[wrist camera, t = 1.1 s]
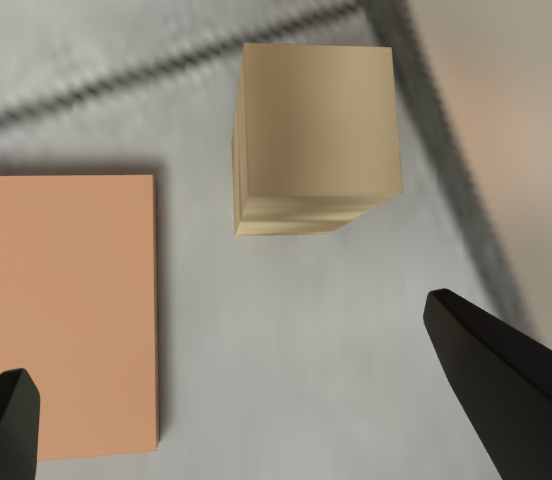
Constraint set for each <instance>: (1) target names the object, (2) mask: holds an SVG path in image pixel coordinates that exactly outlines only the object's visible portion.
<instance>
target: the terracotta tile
mask: <svg viewBox="0 0 552 480" xmlns="http://www.w3.org/2000/svg"><path fill="white" fill-rule="evenodd" d="M17 368H24V369H26V370H27V371H28V373H29V375H30V376H31V378H32V380H33V382H34V383H35V385H36V387H37V388H38V390H39V393H40V400H41V401H40V418H39V435H38V451H37V461H48V460H60V459H71V458H82V457H94V456H105V455H116V454H128V453H139V452H150V451H156V450H157V447H158V444H159V402H158V330H157V258H156V185H155V179H154V177H153V175H68V176H0V374H1V373H2V372H4V371H6V370H12V369H17Z"/></svg>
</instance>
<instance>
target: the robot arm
mask: <svg viewBox="0 0 552 480" xmlns="http://www.w3.org/2000/svg"><path fill="white" fill-rule="evenodd" d="M423 320H424V324H425V327H426V329H427V332H428V334H429V337H430V339H431V341H432V344H433V346H434V349H435V351H436V353H437V356H438V358H439V361H440V363H441V365H442V368H443V370H444V372H445V375H446V377H447V379H448V381H449V383H450V385H451V387H452V389H453V391H454V393H455V395H456V396H457V398H458V400H459V402H460V404H461V405H462V407H463V409H464V411H465V413H466V415H467V416H468V418H469V420H470V422H471V424H472V425H473V427H474V429H475V431H476V433H477V434H478V436H479V438H480V440H481V442H482V443H483V445H484V447H485V449H486V451H487V453H488V454H489V456H490V458H491V460H492V462H493V463H494V465H495V467H496V469H497V471H498V472H499V474H500V476H501V478H502V480H552V350H550V349H549V348H547V347H545V346H544V345H542V344H540V343H539V342H537V341H535V340H534V339H532V338H530V337H528V336H527V335H525V334H523V333H522V332H520V331H518V330H517V329H515V328H513V327H511V326H510V325H508V324H506V323H505V322H503V321H501V320H500V319H498V318H496V317H495V316H493V315H491V314H489V313H488V312H486V311H484V310H483V309H481V308H479V307H478V306H476V305H474V304H473V303H471V302H469V301H467V300H466V299H464V298H462V297H461V296H459V295H457V294H456V293H454V292H452V291H451V290H449V289H445V288H444V289H438V290H433V291H430V292H429V293H428V295H427V300H426V304H425V309H424V314H423ZM40 401H41V400H40V393H39V390H38V388H37V387H36V385H35V383H34V382H33V380H32V378H31V376H30V375H29V373H28V371H27V370H26V369H24V368H17V369H12V370H6V371H4V372H2V373H1V374H0V480H35V475H36V465H37V451H38V435H39V418H40Z"/></svg>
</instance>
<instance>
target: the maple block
mask: <svg viewBox="0 0 552 480" xmlns="http://www.w3.org/2000/svg"><path fill="white" fill-rule="evenodd" d="M232 169H233V199H234V228H235V236H267V235H305V234H329V233H330V232H332V231H334V230H336V229H338V228H339V227H341V226H343V225H345V224H347V223H348V222H350V221H352V220H354V219H355V218H357V217H359V216H361V215H363V214H364V213H366V212H368V211H370V210H372V209H373V208H375V207H377V206H379V205H381V204H382V203H384V202H386V201H388V200H389V199H391V198H393V197H395V196H397V195H398V194H400V193H402V192H403V188H402V176H401V163H400V150H399V137H398V125H397V112H396V99H395V86H394V73H393V61H392V48H391V47H363V46H331V45H298V44H266V43H244V46H243V54H242V62H241V71H240V79H239V87H238V95H237V104H236V112H235V120H234V128H233V137H232Z"/></svg>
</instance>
